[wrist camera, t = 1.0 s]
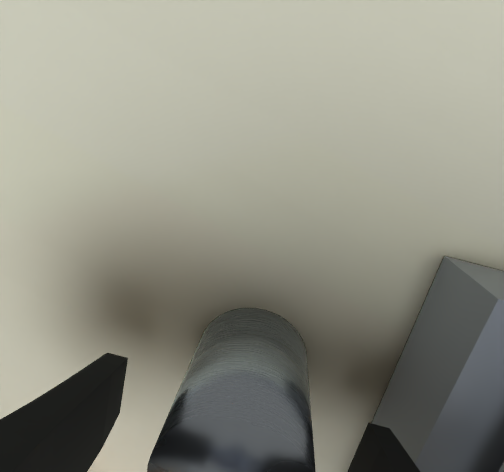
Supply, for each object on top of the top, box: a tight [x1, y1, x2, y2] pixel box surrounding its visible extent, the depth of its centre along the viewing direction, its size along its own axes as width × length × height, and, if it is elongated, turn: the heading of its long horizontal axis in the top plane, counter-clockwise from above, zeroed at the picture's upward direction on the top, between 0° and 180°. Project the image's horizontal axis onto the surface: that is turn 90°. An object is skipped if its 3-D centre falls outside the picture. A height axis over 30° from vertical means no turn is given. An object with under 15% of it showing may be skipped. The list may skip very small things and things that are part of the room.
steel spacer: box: [147, 308, 315, 472], centre depth 11 cm, size 4×4×5 cm
